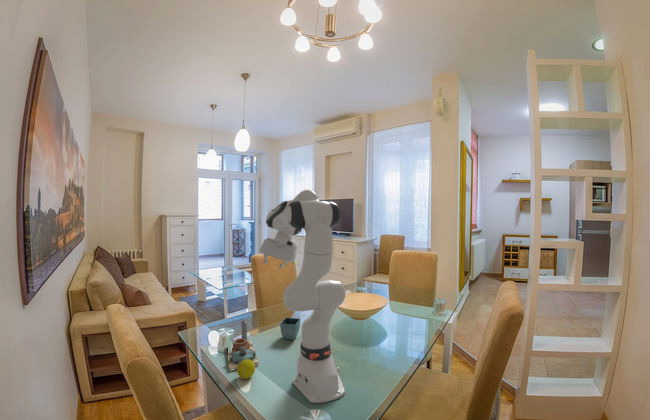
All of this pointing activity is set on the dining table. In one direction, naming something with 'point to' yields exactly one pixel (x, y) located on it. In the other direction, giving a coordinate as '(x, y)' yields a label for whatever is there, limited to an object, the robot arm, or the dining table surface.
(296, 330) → the flower pot
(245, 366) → the tennis ball
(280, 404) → the dining table surface
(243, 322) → the axle pin
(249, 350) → the gear board
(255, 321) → the dining table surface
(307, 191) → the robot arm
